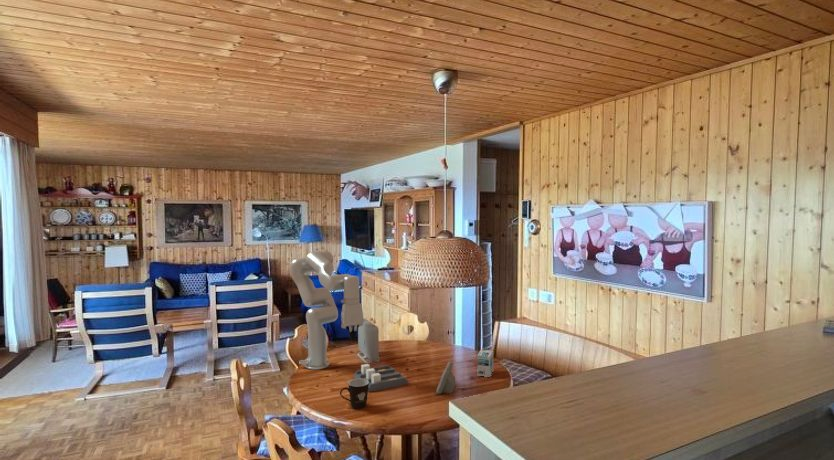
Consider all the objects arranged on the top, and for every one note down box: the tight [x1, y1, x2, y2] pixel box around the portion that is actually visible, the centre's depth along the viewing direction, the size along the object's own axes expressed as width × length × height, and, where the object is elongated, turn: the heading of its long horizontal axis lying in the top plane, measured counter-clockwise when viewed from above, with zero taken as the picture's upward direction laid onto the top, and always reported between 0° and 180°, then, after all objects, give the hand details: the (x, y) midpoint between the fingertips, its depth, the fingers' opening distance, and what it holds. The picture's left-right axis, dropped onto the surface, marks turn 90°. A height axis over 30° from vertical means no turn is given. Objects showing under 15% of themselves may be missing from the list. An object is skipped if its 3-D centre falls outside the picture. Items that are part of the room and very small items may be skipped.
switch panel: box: [353, 364, 409, 393], centre depth 205 cm, size 20×20×3 cm
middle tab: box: [366, 367, 375, 379], centre depth 203 cm, size 4×3×4 cm
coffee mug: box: [339, 378, 369, 410], centre depth 177 cm, size 12×9×10 cm
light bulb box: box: [476, 349, 494, 378], centre depth 214 cm, size 11×7×11 cm, turn 161°
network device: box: [357, 317, 381, 364], centre depth 239 cm, size 26×9×20 cm, turn 25°
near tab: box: [371, 373, 381, 383], centre depth 197 cm, size 4×3×4 cm
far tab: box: [360, 363, 371, 374], centre depth 209 cm, size 4×3×4 cm
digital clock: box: [435, 361, 456, 395], centre depth 195 cm, size 16×9×11 cm, turn 155°
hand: (352, 338), depth 205 cm, fingers closed
